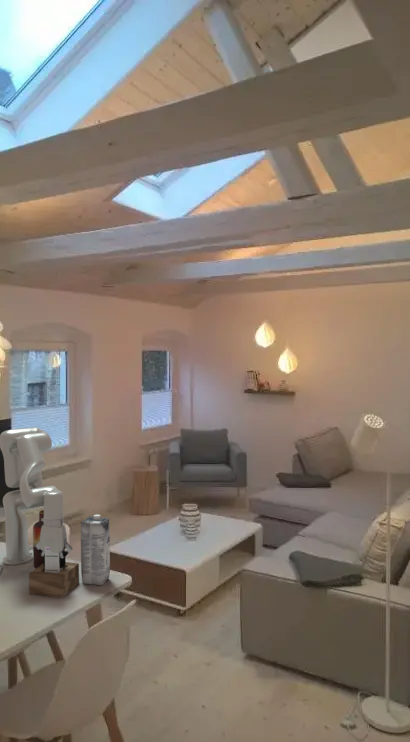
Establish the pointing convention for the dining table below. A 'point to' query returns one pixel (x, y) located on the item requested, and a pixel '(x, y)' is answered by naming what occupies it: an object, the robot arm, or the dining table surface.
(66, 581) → the socket block
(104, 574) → the juice carton
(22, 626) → the dining table surface
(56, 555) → the syrup box
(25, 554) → the robot arm
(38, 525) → the vase
